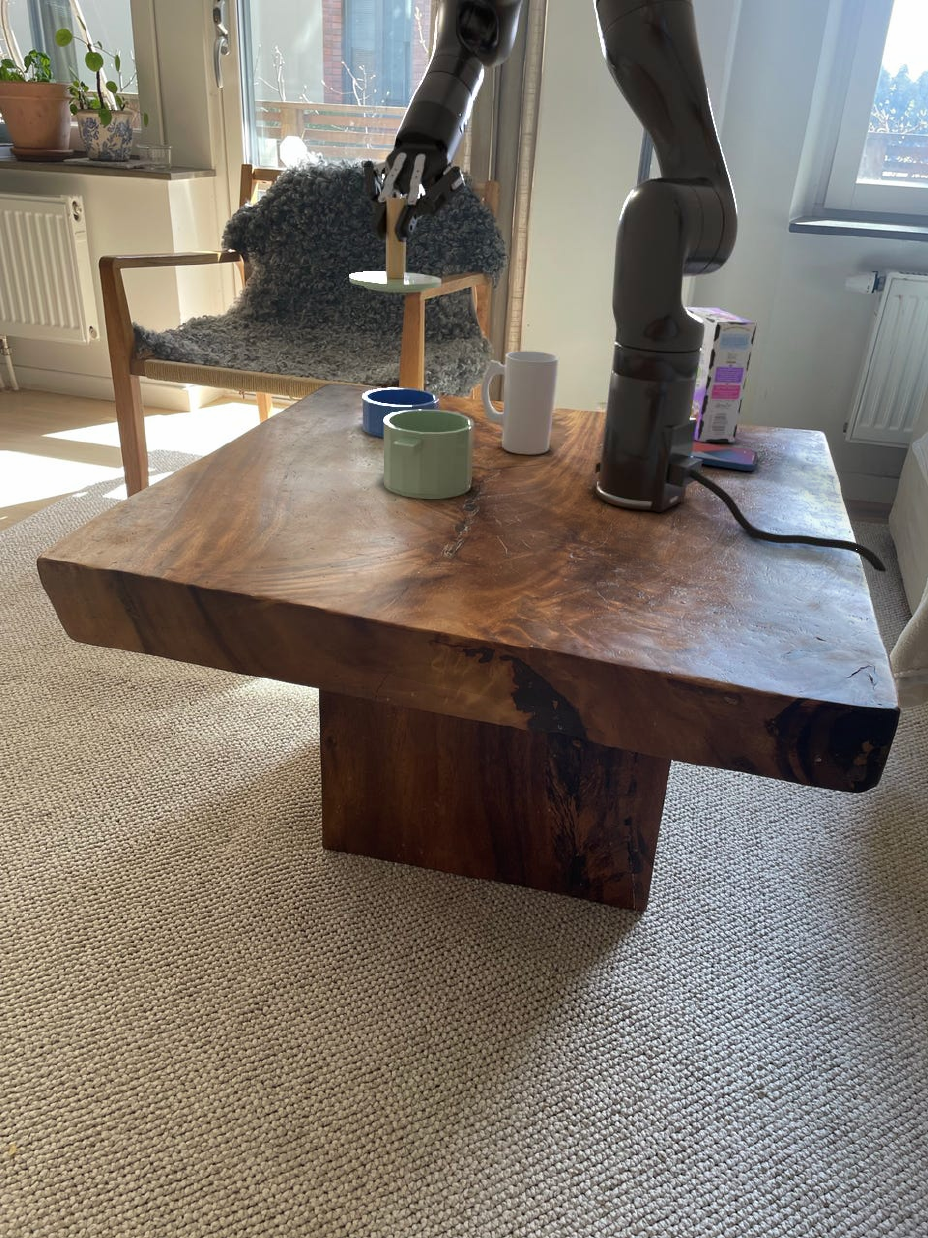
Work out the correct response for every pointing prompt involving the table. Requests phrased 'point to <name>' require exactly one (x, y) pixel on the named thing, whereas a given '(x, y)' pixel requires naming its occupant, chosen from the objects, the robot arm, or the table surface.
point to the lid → (395, 261)
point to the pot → (428, 453)
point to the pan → (393, 405)
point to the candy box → (721, 373)
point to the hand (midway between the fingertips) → (388, 235)
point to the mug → (524, 400)
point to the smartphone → (725, 456)
